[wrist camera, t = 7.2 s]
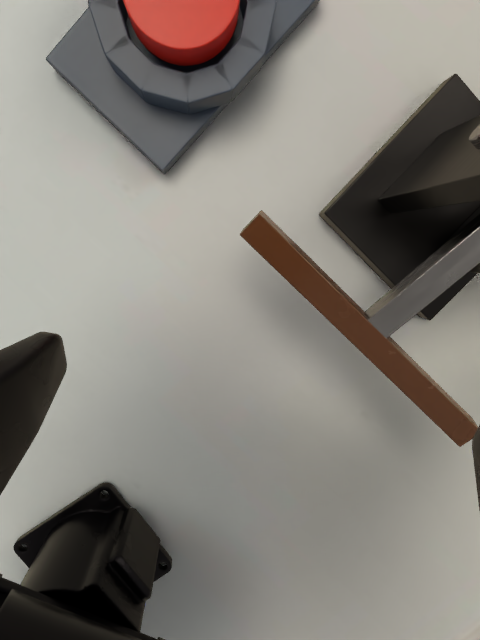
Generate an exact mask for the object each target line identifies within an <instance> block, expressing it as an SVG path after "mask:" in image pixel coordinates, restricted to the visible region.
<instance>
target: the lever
mask: <svg viewBox="0 0 480 640" xmlns="http://www.w3.org/2000/svg"><path fill="white" fill-rule="evenodd" d="M240 236H241V237H242V238H244V239H245V240H246V241H247V242H248V243H249V244H250V245H251V246H252V247H253V248H254V249H255V250H256V251H257V252H258V253H259V254H260V255H261V256H262V257H263V258H264V259H265V260H266V261H267V262H268V263H269V264H270V265H272V266H273V267H274V268H275V269H276V270H277V271H278V272H279V273H280V274H281V275H282V276H283V277H284V278H285V279H286V280H287V281H288V282H289V283H290V284H291V285H292V286H293V287H294V288H295V289H296V290H297V291H298V292H300V293H301V294H302V295H303V296H304V297H305V298H306V299H307V300H308V301H309V302H310V303H311V304H312V305H313V306H314V307H315V308H316V309H317V310H318V311H319V312H320V313H321V314H322V315H323V316H324V317H325V318H326V319H328V320H329V321H330V322H331V323H332V324H333V325H334V326H335V327H336V328H337V329H338V330H339V331H340V332H341V333H342V334H343V335H344V336H345V337H346V338H347V339H348V340H349V341H350V342H351V343H352V344H353V345H354V346H356V347H357V348H358V349H359V350H360V351H361V352H362V353H363V354H364V355H365V356H366V357H367V358H368V359H369V360H370V361H371V362H372V363H373V364H374V365H375V366H376V367H377V368H378V369H379V370H380V371H381V372H382V373H384V374H385V375H386V376H387V377H388V378H389V379H390V380H391V381H392V382H393V383H394V384H395V385H396V386H397V387H398V388H399V389H400V390H401V391H402V392H403V393H404V394H405V395H406V396H407V397H408V398H409V399H410V400H412V401H413V402H414V403H415V404H416V405H417V406H418V407H419V408H420V409H421V410H422V411H423V412H424V413H425V414H426V415H427V416H428V417H429V418H430V419H431V420H432V421H433V422H434V423H435V424H436V425H437V426H438V427H440V428H441V429H442V430H443V431H444V432H445V433H446V434H447V435H448V436H449V437H450V438H451V439H452V440H453V441H454V442H455V443H456V444H457V445H458V446H460V447H461V446H462V445H464V444H465V443H467V442H468V441H470V440H471V439H473V437H474V434H475V433H476V431H477V429H478V426H477V425H476V423H475V422H474V420H473V418H472V417H471V416H470V415H469V414H468V413H467V412H466V411H465V410H464V409H463V408H461V407H460V406H459V405H458V404H457V403H456V402H455V401H454V400H453V399H452V398H451V397H450V396H449V395H448V394H447V393H446V392H445V391H444V390H443V389H442V388H441V387H440V386H439V385H438V384H437V383H436V382H435V381H434V380H433V379H432V378H431V377H430V376H429V375H428V374H427V373H426V372H425V371H424V370H423V369H422V368H421V367H420V366H419V365H418V364H417V363H416V362H415V361H414V360H413V359H412V358H411V357H410V356H409V355H408V354H407V353H406V352H405V351H404V350H403V349H402V348H401V347H400V346H399V345H398V344H397V343H396V342H395V341H394V340H393V339H392V338H391V337H390V335H391V334H392V333H394V332H395V331H396V330H397V329H398V328H400V327H401V326H402V325H403V324H405V323H406V322H407V321H408V320H410V319H411V318H412V317H413V316H415V315H416V314H417V313H418V312H419V311H421V310H422V309H423V308H424V307H426V306H427V305H428V304H429V303H431V302H432V301H433V300H434V299H436V298H437V297H438V296H439V295H440V294H442V293H443V292H444V291H445V290H447V289H448V288H449V287H450V286H452V285H453V284H454V283H455V282H457V281H458V280H459V279H460V278H461V277H463V276H464V275H465V274H466V273H468V272H469V271H470V270H471V269H473V268H474V267H475V266H476V265H477V264H479V263H480V214H479V215H478V216H477V217H475V218H474V219H473V220H472V221H471V222H470V223H468V224H467V225H466V226H465V227H464V228H463V229H461V230H460V231H459V232H458V233H457V234H455V235H454V236H453V237H452V238H451V239H450V240H448V241H447V242H446V243H445V244H444V245H443V246H441V247H440V248H439V249H438V250H437V251H436V252H434V253H433V254H432V255H431V256H430V257H429V258H427V259H426V260H425V261H424V262H423V263H421V264H420V265H419V266H418V267H417V268H416V269H414V270H413V271H412V272H411V273H410V274H409V275H407V276H406V277H405V278H404V279H403V280H402V281H400V282H399V283H398V284H397V285H396V286H395V287H393V288H392V289H391V290H390V291H389V292H387V293H386V294H385V295H384V296H383V297H382V298H380V299H379V300H378V301H377V302H376V303H375V304H373V305H372V306H371V307H370V308H369V309H368V310H366V311H365V312H364V311H363V310H362V309H361V308H360V307H359V306H358V305H357V304H356V303H355V302H354V301H353V300H352V299H351V298H350V297H349V296H348V295H347V294H346V293H345V292H344V291H343V290H342V289H341V288H340V287H339V286H338V285H337V284H336V283H335V282H334V281H333V280H332V279H331V278H330V277H329V276H328V275H327V274H326V273H325V272H324V271H323V270H322V269H321V268H320V267H319V266H318V265H317V264H316V263H315V262H314V261H313V260H312V259H311V258H310V257H309V256H308V255H307V254H306V253H305V252H304V251H303V250H302V249H301V248H300V247H299V246H298V245H296V244H295V243H294V242H293V241H292V240H291V239H290V238H289V237H288V236H287V235H286V234H285V233H284V232H283V231H282V230H281V229H280V228H279V227H278V226H277V225H276V224H275V223H274V222H273V221H272V220H271V219H270V218H269V217H268V216H267V215H266V214H265V213H264V212H263V211H262V210H261V211H260V212H259V213H258V214H257V215H256V216H255V217H254V218H253V219H252V220H251V221H250V223H249V224H248V225H247V226H246V227H245V228H244V229H243V230H242V232H241V233H240Z"/></svg>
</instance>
